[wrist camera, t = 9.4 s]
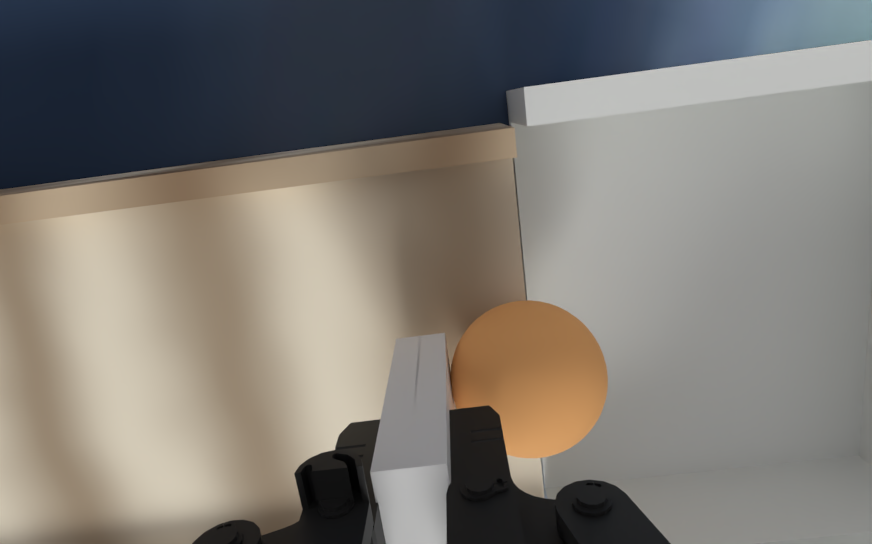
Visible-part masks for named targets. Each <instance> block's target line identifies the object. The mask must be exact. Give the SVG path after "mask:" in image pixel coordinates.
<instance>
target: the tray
mask: <svg viewBox="0 0 872 544" xmlns="http://www.w3.org/2000/svg"><path fill="white" fill-rule="evenodd" d="M506 96H507V107H508V118H509V126H511V127H514V128H515V138H516V149H517V158H513V167H514V178H515V188H516V199H517V210H518V220H519V231H520V242H521V252H522V263H523V274H524V284H525V295H526V301H527V300H531V301H541V302H545V303H549V304H552V305H555V306H558V307H560V308H562V309H564V310H566V311H568V312H569V313H571V314H572V315H573V316H575V317H576V318H578V319H579V320H580V321H581V322H582V323H583V324H584V325H585V326H586V327H587V328H588V329H589V331H590V332H591V333H592V334H593V336H594V337H595V339H596V341H597V342H598V344H599V346H600V348H601V350H602V353H603V356H604V359H605V363H606V366H607V375H608V390H607V396H606V401H605V404H604V407H603V410H602V413H601V415H600V417H599V419H598V421H597V422H596V424H595V425H594V426H593V428H592V429H591V430H590V432H589V433H588V434H587V435H586V436H585V437H584V438H583V439H582V440H581V441H580V442H578V443H577V444H576V445H574V446H573V447H571V448H569V449H567V450H565V451H563V452H561V453H558V454H555V455H552V456H548V457H542V458H541V465H542V476H543V487H544V497H545V498H546V499H556V496H557V493H558V492H559V491H560V490H561V489H562V488H563V487H564V486H566V485H569V484H571V483H573V482H575V481H582V480H598V481H604V482H607V483H610V484H613V485H615V486H617V487H618V488H620V489H621V490H622V491H624V492H625V493H626V494H627V495H628V496H629V497H630V499H631V500H632V501H633V502H634V503H635V504H636V505H637V506H638V508H639V509H640V510H641V511H642V512H643V513H644V514H645V515H646V516H647V518H648V519H649V520H650V521H651V522H652V523H653V524H654V525H655V527H656V528H657V529H658V530H659V531H660V532H661V533H662V534H663V535H664V537H665V538H666V539H667V540H668V541H669V542H670V543H671V544H872V40H867V41H860V42H853V43H845V44H838V45H831V46H823V47H816V48H809V49H801V50H794V51H787V52H779V53H772V54H764V55H757V56H750V57H742V58H735V59H728V60H720V61H713V62H706V63H698V64H691V65H683V66H676V67H669V68H661V69H654V70H647V71H639V72H632V73H625V74H617V75H610V76H603V77H595V78H588V79H580V80H573V81H566V82H558V83H551V84H544V85H536V86H529V87H522V88H518V89H513V90H509V91H506Z"/></svg>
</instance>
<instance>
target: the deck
mask: <svg viewBox="0 0 872 544" xmlns="http://www.w3.org/2000/svg"><path fill="white" fill-rule="evenodd" d="M513 158H517V149H516V138H515V128H514V127H511V126H508V125H505V124H502V123H496V124H488V125H481V126H473V127H466V128H458V129H451V130H443V131H436V132H428V133H421V134H413V135H406V136H398V137H391V138H383V139H376V140H368V141H361V142H353V143H346V144H338V145H331V146H323V147H316V148H308V149H301V150H293V151H286V152H278V153H271V154H263V155H256V156H248V157H241V158H233V159H226V160H218V161H211V162H203V163H196V164H188V165H181V166H173V167H166V168H158V169H151V170H143V171H136V172H128V173H121V174H113V175H106V176H98V177H91V178H83V179H76V180H68V181H61V182H53V183H46V184H38V185H31V186H23V187H16V188H8V189H1V190H0V544H192V543H193V542H194V541H195V540H196V539H197V538H198V537H200V536H201V535H202V534H203V533H204V532H206V531H207V530H209V529H211V528H213V527H215V526H216V525H219V524H221V523H225V522H228V521H232V520H248V521H252V522H254V523H255V524H256V525H257V526H258V527H259V528H260V531H261V535H265V534H268V533H271V532H274V531H277V530H280V529H283V528H285V527H287V526H290V525H292V524H294V523H296V522H298V521H299V519H300V516H301V513H302V510H303V509H302V505H301V501H300V496H299V492H298V488H297V483H296V479H295V475H294V473H295V472H296V470H297V469H298V467H299V466H300V465H301V464H302V463H304V462H305V461H306V460H308V459H309V458H311V457H313V456H316V455H318V454H320V453H323V452H328V451H332V450H335V446H336V443H337V440H338V437H339V434H340V433H341V432H342V431H343V430H344V429H345V428H346V427H347V426H348V425H349V424H350V423H353V422H362V421H370V420H379V419H381V414H382V409H383V404H384V399H385V393H386V388H387V383H388V378H389V373H390V368H391V363H392V358H393V352H394V347H395V342H396V339H398V338H406V337H414V336H423V335H431V334H439V333H445V335H446V343H447V350H448V357H449V364H450V371H451V364H452V360H453V356H454V352H455V349H456V347H457V344H458V342H459V341H460V339H461V337H462V335H463V334H464V333H465V331H466V330H467V329H468V327H469V326H470V325H471V324H472V323H473V322H474V321H475V320H476V319H477V318H478V317H480V316H481V315H482V314H484V313H485V312H487V311H489V310H491V309H492V308H495V307H497V306H499V305H502V304H506V303H509V302H515V301H526V295H525V284H524V274H523V263H522V252H521V242H520V231H519V220H518V210H517V199H516V188H515V178H514V167H513ZM455 407H456V405H455ZM456 409H457V408H456ZM507 458H508V463H509V469H510V474H511V478H512V480H513V482H514V484H515V485H516V486H517V487H518V488H519V489H521V490H522V491H524V492H525V493H528V494H530V495H533V496H536V497H541V498H545V497H544V487H543V476H542V465H541V458H519V457H514V456H510V455H507Z"/></svg>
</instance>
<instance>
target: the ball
mask: <svg viewBox="0 0 872 544" xmlns="http://www.w3.org/2000/svg"><path fill="white" fill-rule="evenodd" d="M450 378H451V389H452V395H453V399H454V402H455V405H456V408H457V409H461V408H470V407H478V406H487V405H489V406H491V407H492V408H493V409H494V410H495V411H496V412H497V413H498V414H499V415H500V420H501V426H502V431H503V436H504V442H505V447H506V453H507V455H510V456H514V457H519V458H542V457H548V456H552V455H555V454H558V453H561V452H563V451H565V450H567V449H569V448H571V447H573V446H574V445H576V444H577V443H578V442H580V441H581V440H582V439H583V438H584V437H585V436H586V435H587V434H588V433H589V432H590V430H591V429H592V428H593V426H594V425H595V424H596V422H597V421H598V419H599V417H600V415H601V413H602V410H603V407H604V404H605V401H606V396H607V390H608V375H607V366H606V363H605V359H604V356H603V353H602V350H601V348H600V346H599V344H598V342H597V341H596V339H595V337H594V336H593V334H592V333H591V332H590V331H589V329H588V328H587V327H586V326H585V325H584V324H583V323H582V322H581V321H580V320H579V319H578V318H576V317H575V316H573V315H572V314H571V313H569V312H568V311H566V310H564V309H562V308H560V307H558V306H555V305H552V304H549V303H545V302H541V301H531V300H527V301H515V302H509V303H506V304H502V305H499V306H497V307H495V308H492V309H491V310H489V311H487V312H485V313H484V314H482V315H481V316H480V317H478V318H477V319H476V320H475V321H474V322H473V323H472V324H471V325H470V326H469V327H468V329H467V330H466V331H465V333H464V334H463V335H462V337H461V339H460V341H459V342H458V344H457V347H456V349H455V352H454V356H453V360H452V364H451V373H450Z"/></svg>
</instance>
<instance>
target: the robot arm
mask: <svg viewBox="0 0 872 544" xmlns="http://www.w3.org/2000/svg"><path fill="white" fill-rule="evenodd" d="M450 373H451V371H450V364H449V357H448V350H447V343H446V335H445V333H439V334H431V335H423V336H414V337H406V338H398V339H396V342H395V347H394V352H393V358H392V363H391V368H390V373H389V378H388V383H387V388H386V393H385V399H384V404H383V409H382V414H381V419H379V420H370V421H362V422H353V423H350V424H349V425H348V426H347V427H346V428H345V429H344V430H343V431H342V432H341V433H340V434H339V437H338V440H337V443H336V446H335V450H332V451H328V452H323V453H320V454H318V455H316V456H313V457H311V458H309V459H308V460H306V461H305V462H304V463H302V464H301V465H300V466H299V467H298V469H297V470H296V472H295V473H294V475H295V479H296V483H297V488H298V492H299V496H300V501H301V505H302V509H303V510H302V513H301V516H300V519H299V521H298V522H296V523H294V524H292V525H290V526H287V527H285V528H283V529H280V530H277V531H274V532H271V533H268V534H265V535H261V531H260V528H259V527H258V526H257V525H256V524H255V523H254V522H252V521H248V520H232V521H228V522H225V523H221V524H219V525H216V526H215V527H213V528H211V529H209V530H207V531H206V532H204V533H203V534H202V535H201V536H200V537H198V538H197V539H196V540H195V541H194V542H193V543H192V544H671V543H670V542H669V541H668V540H667V539H666V538H665V537H664V535H663V534H662V533H661V532H660V531H659V530H658V529H657V528H656V527H655V525H654V524H653V523H652V522H651V521H650V520H649V519H648V518H647V516H646V515H645V514H644V513H643V512H642V511H641V510H640V509H639V508H638V506H637V505H636V504H635V503H634V502H633V501H632V500H631V499H630V497H629V496H628V495H627V494H626V493H625V492H624V491H622V490H621V489H620V488H618V487H617V486H615V485H613V484H610V483H607V482H604V481H598V480H582V481H575V482H573V483H571V484H569V485H566V486H564V487H563V488H562V489H561V490H560V491H559V492H558V493H557V496H556V499H546V498H541V497H536V496H533V495H530V494H528V493H525V492H524V491H522V490H521V489H519V488H518V487H517V486H516V485H515V484H514V482H513V480H512V478H511V474H510V469H509V463H508V458H507V453H506V447H505V442H504V436H503V431H502V426H501V420H500V415H499V414H498V413H497V412H496V411H495V410H494V409H493V408H492V407H491V406H489V405H487V406H478V407H470V408H461V409H456V407H455V402H454V399H453V395H452V389H451V378H450Z"/></svg>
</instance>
